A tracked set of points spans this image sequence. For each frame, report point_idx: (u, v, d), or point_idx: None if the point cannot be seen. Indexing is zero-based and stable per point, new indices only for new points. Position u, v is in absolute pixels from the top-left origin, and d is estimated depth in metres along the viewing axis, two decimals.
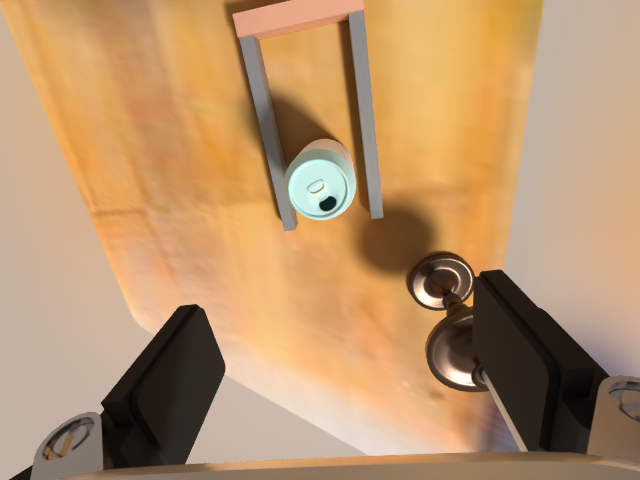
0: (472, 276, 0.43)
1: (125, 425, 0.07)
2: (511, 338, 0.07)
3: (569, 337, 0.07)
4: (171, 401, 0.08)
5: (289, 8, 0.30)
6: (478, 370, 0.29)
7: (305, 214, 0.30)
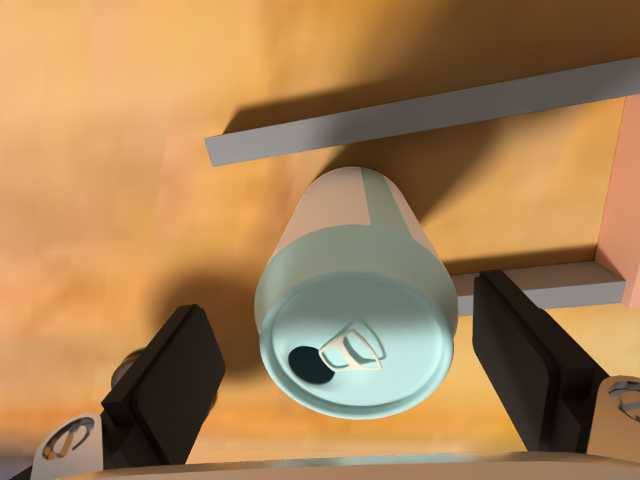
0: None
1: (125, 425, 0.07)
2: (511, 338, 0.07)
3: (569, 337, 0.07)
4: (171, 401, 0.08)
5: None
6: None
7: (273, 315, 0.09)
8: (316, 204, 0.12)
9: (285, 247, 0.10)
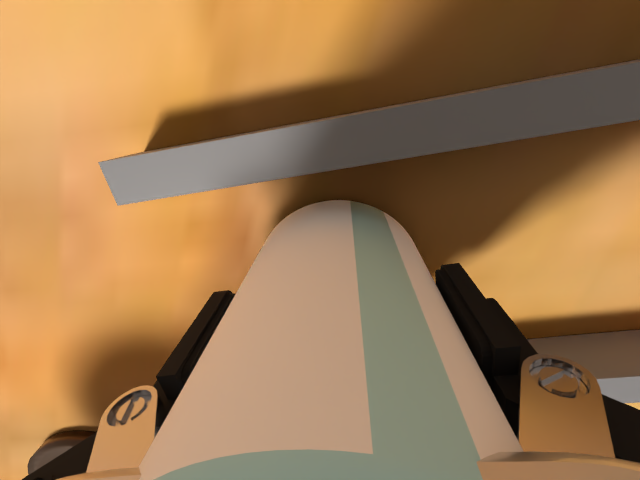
0: None
1: None
2: (460, 324, 0.08)
3: (512, 323, 0.08)
4: None
5: None
6: None
7: None
8: (262, 303, 0.06)
9: None
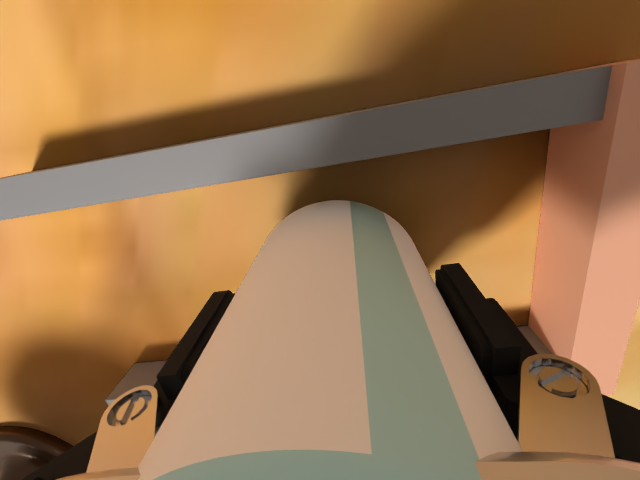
0: None
1: None
2: (459, 324, 0.08)
3: (512, 323, 0.08)
4: None
5: (635, 245, 0.10)
6: None
7: None
8: (261, 303, 0.06)
9: None
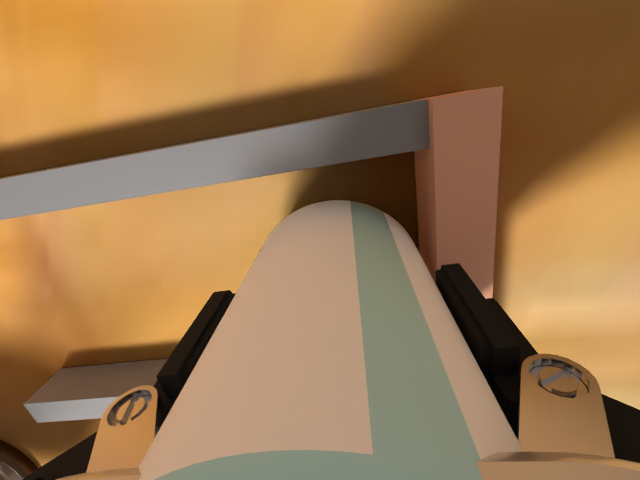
0: None
1: None
2: (459, 324, 0.08)
3: (512, 323, 0.08)
4: None
5: (476, 263, 0.11)
6: None
7: None
8: (262, 303, 0.06)
9: None
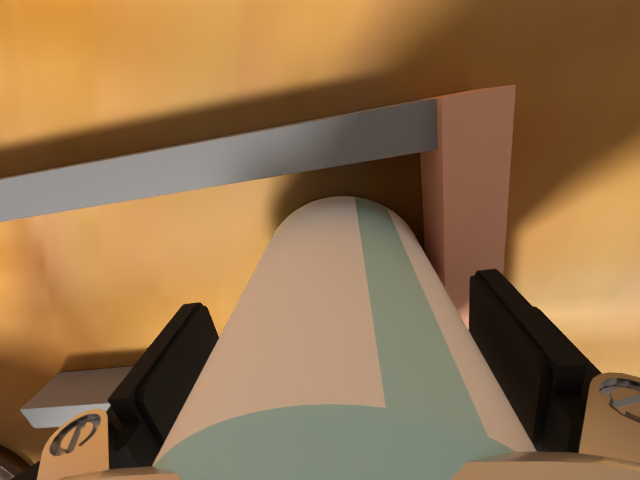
0: None
1: (131, 421, 0.07)
2: (505, 336, 0.08)
3: (563, 335, 0.07)
4: (176, 398, 0.08)
5: (485, 268, 0.11)
6: None
7: None
8: (277, 288, 0.07)
9: (186, 440, 0.04)
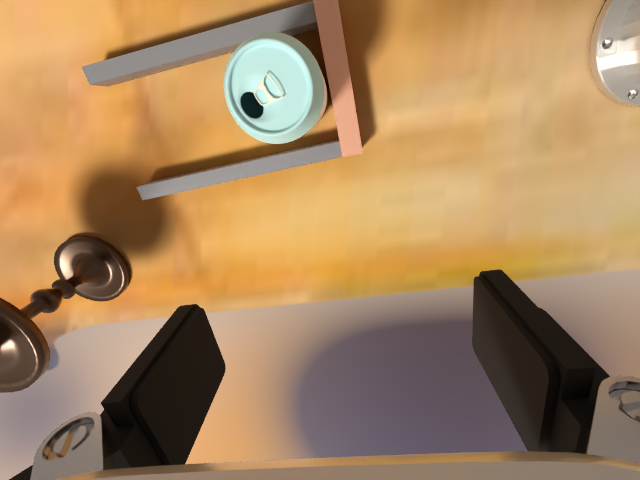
0: (111, 297, 0.41)
1: (125, 425, 0.07)
2: (511, 338, 0.07)
3: (569, 337, 0.07)
4: (171, 401, 0.08)
5: (342, 72, 0.27)
6: None
7: (230, 70, 0.20)
8: None
9: (236, 48, 0.21)
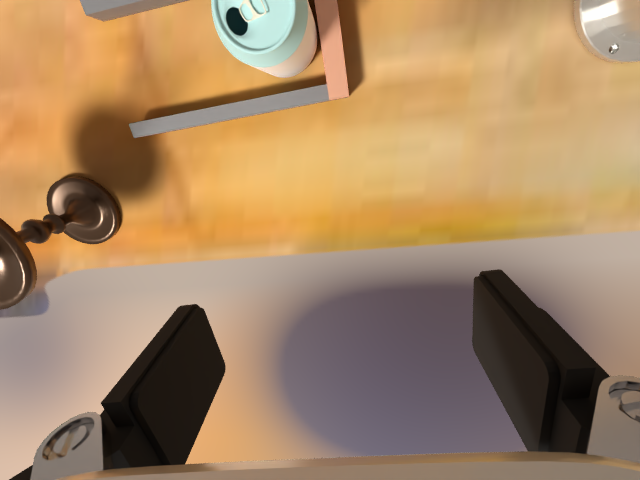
0: (101, 240, 0.42)
1: (125, 425, 0.07)
2: (511, 338, 0.07)
3: (569, 337, 0.07)
4: (171, 401, 0.08)
5: (331, 11, 0.28)
6: None
7: None
8: None
9: None
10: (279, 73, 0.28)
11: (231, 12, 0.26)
